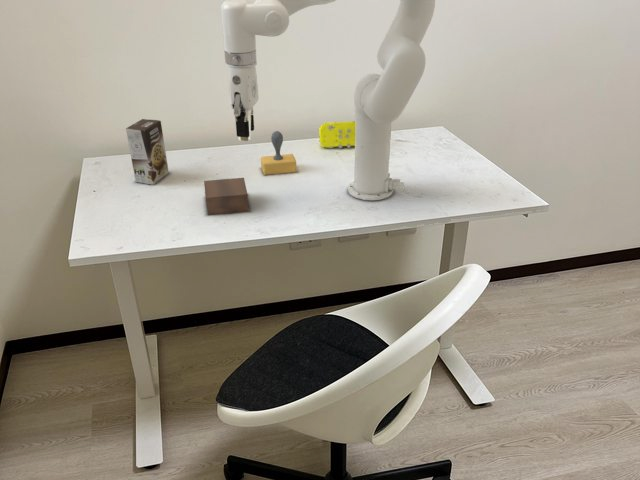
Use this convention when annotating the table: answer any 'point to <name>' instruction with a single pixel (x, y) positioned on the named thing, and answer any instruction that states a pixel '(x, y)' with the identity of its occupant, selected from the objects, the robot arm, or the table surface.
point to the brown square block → (226, 196)
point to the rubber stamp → (278, 159)
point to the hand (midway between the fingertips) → (245, 132)
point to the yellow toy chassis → (337, 134)
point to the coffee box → (147, 151)
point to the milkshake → (249, 126)
